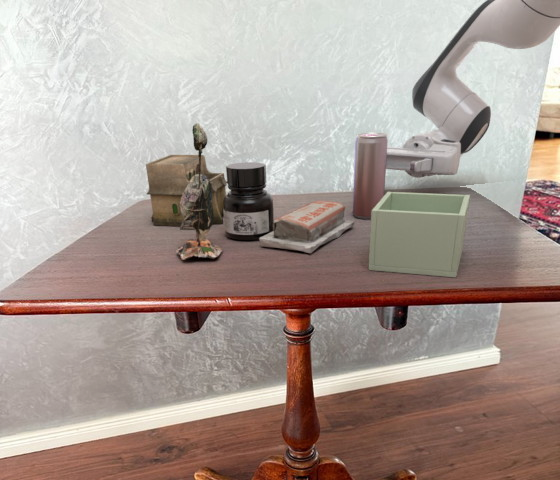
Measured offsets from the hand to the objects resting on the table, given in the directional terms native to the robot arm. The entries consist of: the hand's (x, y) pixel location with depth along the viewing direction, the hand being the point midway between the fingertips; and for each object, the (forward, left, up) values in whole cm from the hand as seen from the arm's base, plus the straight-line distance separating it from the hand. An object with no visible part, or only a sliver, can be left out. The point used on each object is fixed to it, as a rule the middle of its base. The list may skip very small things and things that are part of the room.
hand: (391, 165), depth 110 cm
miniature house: (+37, +19, -9) cm, 42 cm away
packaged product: (+10, +25, -9) cm, 28 cm away
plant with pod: (+25, +38, -9) cm, 46 cm away
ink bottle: (+21, +26, -9) cm, 35 cm away
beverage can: (+3, +8, -9) cm, 12 cm away
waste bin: (-10, +33, -8) cm, 36 cm away
